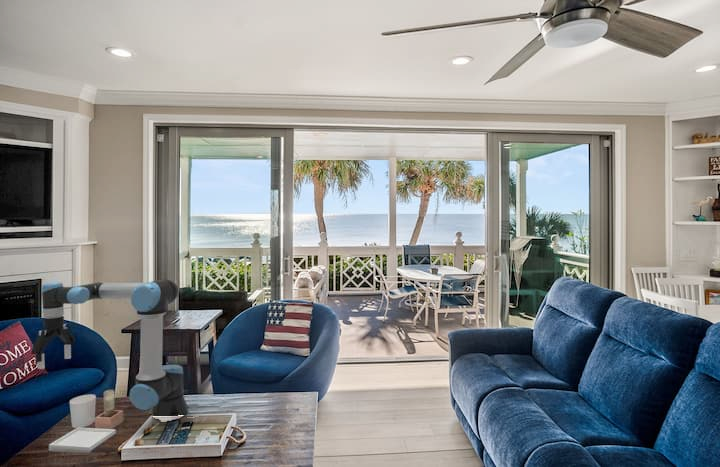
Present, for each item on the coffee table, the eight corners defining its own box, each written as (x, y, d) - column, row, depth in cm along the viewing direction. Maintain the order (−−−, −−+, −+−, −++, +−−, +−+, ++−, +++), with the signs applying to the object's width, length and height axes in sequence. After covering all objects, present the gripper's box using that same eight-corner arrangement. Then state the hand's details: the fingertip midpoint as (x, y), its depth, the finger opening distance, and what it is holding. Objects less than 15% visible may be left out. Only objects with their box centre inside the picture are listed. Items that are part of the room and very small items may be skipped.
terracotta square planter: (123, 423, 181) (123, 410, 181) (111, 432, 174) (110, 418, 174) (108, 422, 182) (108, 409, 182) (95, 431, 175) (94, 417, 175)
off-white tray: (116, 435, 171) (116, 429, 171) (89, 453, 157) (89, 447, 157) (78, 433, 173) (78, 427, 173) (49, 450, 160) (48, 444, 160)
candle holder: (83, 431, 175) (82, 404, 174) (64, 429, 177) (63, 402, 176) (101, 421, 184) (101, 395, 184) (83, 419, 186) (83, 393, 186)
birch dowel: (117, 423, 180) (116, 389, 180) (110, 427, 176) (109, 393, 176) (108, 422, 180) (108, 389, 180) (102, 427, 176) (101, 393, 176)
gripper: (69, 311, 195) (70, 354, 195) (19, 323, 170) (21, 373, 170) (83, 311, 194) (84, 354, 194) (35, 323, 169) (36, 373, 169)
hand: (55, 363), depth 182 cm, fingers open, 13 cm apart
